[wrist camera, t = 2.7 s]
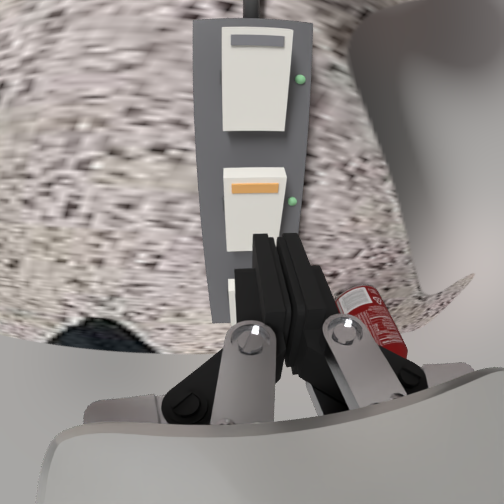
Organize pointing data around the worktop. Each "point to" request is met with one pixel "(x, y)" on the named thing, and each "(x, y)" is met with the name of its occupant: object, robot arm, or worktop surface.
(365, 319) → the soda can
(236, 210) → the block
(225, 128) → the rocker
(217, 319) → the power strip
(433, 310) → the worktop surface
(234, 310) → the rocker
